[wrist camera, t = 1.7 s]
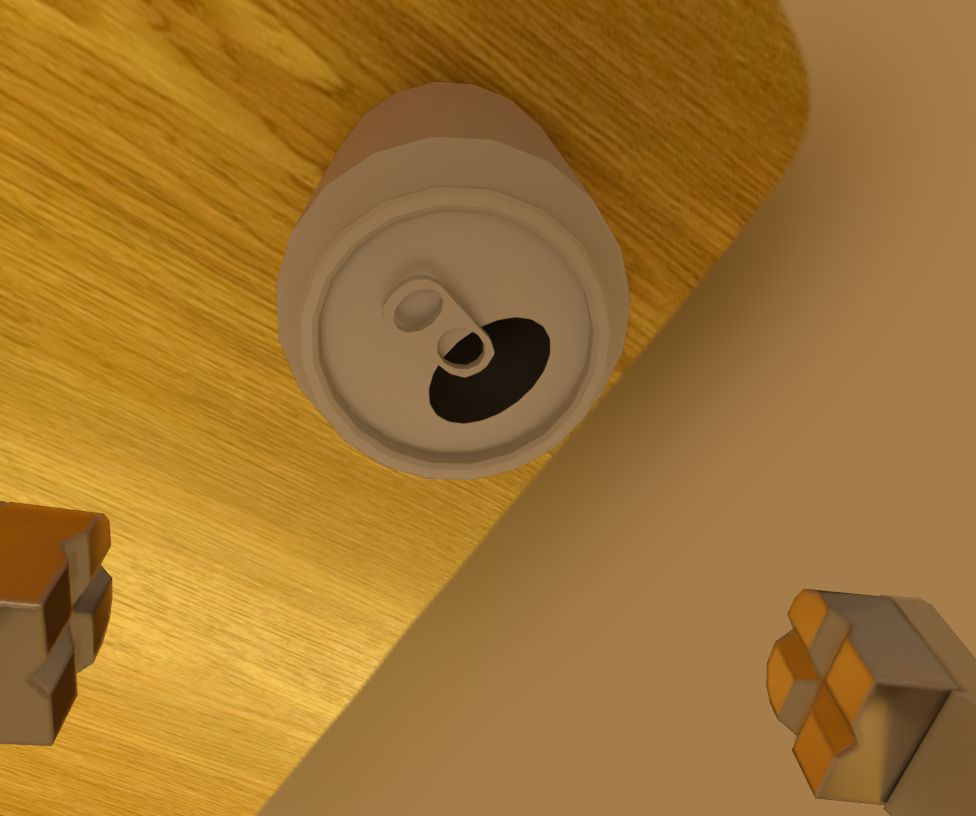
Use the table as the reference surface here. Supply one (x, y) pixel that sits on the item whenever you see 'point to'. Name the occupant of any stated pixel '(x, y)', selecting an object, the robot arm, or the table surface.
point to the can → (451, 288)
